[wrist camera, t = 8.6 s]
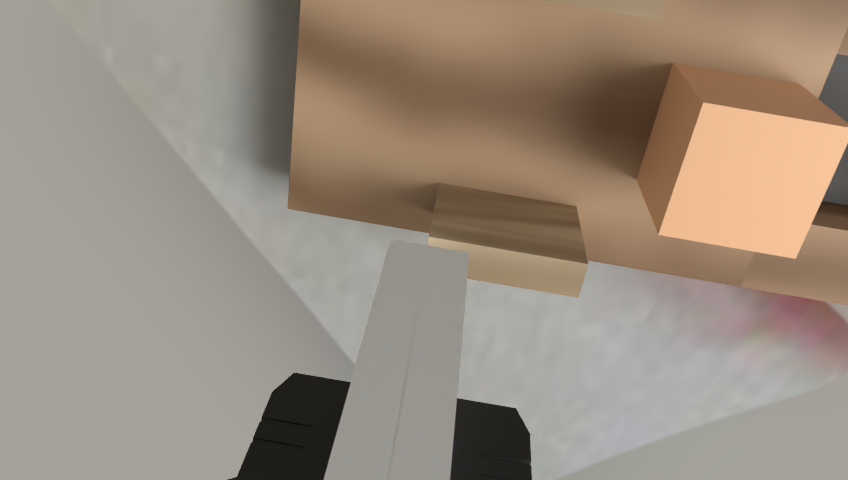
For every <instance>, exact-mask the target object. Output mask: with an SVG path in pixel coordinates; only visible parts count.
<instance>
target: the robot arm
mask: <svg viewBox="0 0 848 480" xmlns="http://www.w3.org/2000/svg"><path fill="white" fill-rule="evenodd" d="M468 261H469V252H463V251H457V250H451V249H445V248H439V247H433V246H427V245H421V244H415V243H409V242H403V241H397V240H391V241H390V244H389V248H388V252H387V255H386V259H385V262H384V266H383V269H382V273H381V276H380V280H379V284H378V287H377V291H376V294H375V298H374V301H373V305H372V309H371V312H370V316H369V319H368V323H367V326H366V330H365V334H364V337H363V341H362V344H361V348H360V351H359V355H358V359H357V362H356V366H355V369H354V373H353V376H352V380H351V382H346V381H340V380H333V379H328V378H322V377H316V376H310V375H304V374H299V373H293V374H292V375H291V376H290V377H289V378H288V379H287V380H285V381H284V382H283V383H282V384H281V385H280V386H279V387H277V388H276V389H275V390H274V391H273V392H272V394H271V396H270V399H269V401H268V404H267V406H266V408H265V411H264V413H263V416H262V420H261V422H260V423H259V425H258V428H257V430H256V432H255V435H254V437H253V442H252V443H251V444H250V447H249V449H248V452H247V454H246V456H245V459H244V461H243V464H242V466H241V469H240V471H239V473H238V476H237V477H236V478H232V479H228V480H532V474H531V466H530V463H531V450H530V433H529V431H528V430H527V428H526V426H525V424H524V422H523V421H522V419H521V417H520V415H519V413H518V412H517V410H516V408H511V407H505V406H499V405H493V404H487V403H481V402H475V401H470V400H464V399H458V398H457V391H458V380H459V368H460V356H461V344H462V332H463V321H464V309H465V297H466V285H467V273H468Z"/></svg>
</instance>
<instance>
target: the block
mask: <svg viewBox="0 0 848 480" xmlns="http://www.w3.org/2000/svg"><path fill="white" fill-rule="evenodd" d="M847 144H848V123H847V122H846V121H845V120H843V119H842V118H841V117H840V116H838V115H837V114H836V113H835V112H834V111H832V110H831V109H830V108H829V107H827V106H826V105H825V104H824V103H823V102H821V101H820V100H819V99H818V98H816V97H815V96H814V95H813V94H812V93H810V92H809V91H808V90H807V89H806V88H804V87H803V86H802V85H799V84H793V83H787V82H782V81H776V80H770V79H764V78H759V77H753V76H747V75H741V74H735V73H730V72H724V71H718V70H712V69H706V68H701V67H695V66H689V65H683V64H677V63H673V64H672V68H671V71H670V74H669V77H668V80H667V84H666V87H665V90H664V93H663V96H662V100H661V103H660V106H659V109H658V112H657V116H656V119H655V122H654V125H653V129H652V132H651V135H650V138H649V141H648V145H647V148H646V151H645V154H644V157H643V161H642V164H641V167H640V170H639V173H638V177H637V182H638V185H639V187H640V190H641V192H642V195H643V197H644V200H645V202H646V205H647V208H648V210H649V213H650V215H651V218H652V220H653V223H654V225H655V228H656V230H657V233H658V235H662V236H668V237H674V238H679V239H685V240H691V241H696V242H702V243H708V244H713V245H719V246H725V247H731V248H736V249H742V250H748V251H753V252H759V253H765V254H770V255H776V256H782V257H788V258H793V259H796V257H797V255H798V253H799V251H800V248H801V246H802V244H803V242H804V239H805V237H806V235H807V233H808V231H809V228H810V226H811V224H812V222H813V219H814V217H815V215H816V213H817V211H818V208H819V206H820V204H821V202H822V199H823V197H824V195H825V193H826V191H827V188H828V186H829V184H830V182H831V179H832V177H833V175H834V173H835V171H836V168H837V166H838V164H839V162H840V159H841V157H842V155H843V153H844V151H845V148H846V146H847Z"/></svg>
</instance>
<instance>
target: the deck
mask: <svg viewBox="0 0 848 480" xmlns="http://www.w3.org/2000/svg"><path fill="white" fill-rule="evenodd" d="M673 63H677V64H683V65H689V66H695V67H701V68H706V69H712V70H718V71H724V72H730V73H735V74H741V75H747V76H753V77H759V78H764V79H770V80H776V81H782V82H787V83H793V84H799V85H802V86H803V87H804V88H806V89H807V90H808V91H809V92H810V93H812V94H813V95H814V96H815V97H816V98H818V99H819V100H820V101H821V102H823V103H824V104H825V105H826V106H827V107H829V108H830V109H831V110H832V111H834V112H835V113H836V114H837V115H838V116H840V117H841V118H842V119H843V120H845V121H846V122H847V123H848V0H301V3H300V19H299V35H298V51H297V67H296V83H295V99H294V115H293V131H292V147H291V163H290V179H289V195H288V209H292V210H298V211H304V212H310V213H316V214H321V215H327V216H333V217H339V218H345V219H351V220H356V221H362V222H368V223H374V224H380V225H385V226H391V227H397V228H403V229H409V230H414V231H420V232H426V233H429V238H428V244H427V246H433V247H439V248H445V249H451V250H457V251H463V252H469V261H468V273H467V278H468V279H474V280H479V281H485V282H491V283H497V284H502V285H508V286H514V287H520V288H526V289H531V290H537V291H543V292H549V293H554V294H560V295H566V296H572V297H579V293H580V290H581V287H582V283H583V280H584V276H585V273H586V269H587V266H588V261H594V262H600V263H606V264H612V265H618V266H623V267H629V268H635V269H641V270H647V271H652V272H658V273H664V274H670V275H676V276H681V277H687V278H693V279H699V280H705V281H710V282H716V283H722V284H728V285H734V286H739V287H745V288H751V289H757V290H763V291H768V292H774V293H780V294H786V295H792V296H797V297H803V298H809V299H815V300H821V301H826V302H832V303H838V304H844V305H848V144H847V146H846V148H845V151H844V153H843V155H842V157H841V159H840V162H839V164H838V166H837V168H836V171H835V173H834V175H833V177H832V179H831V182H830V184H829V186H828V188H827V191H826V193H825V195H824V197H823V199H822V202H821V204H820V206H819V208H818V211H817V213H816V215H815V217H814V219H813V222H812V224H811V226H810V228H809V231H808V233H807V235H806V237H805V239H804V242H803V244H802V246H801V248H800V251H799V253H798V255H797V257H796V259H793V258H788V257H782V256H776V255H770V254H765V253H759V252H753V251H748V250H742V249H736V248H731V247H725V246H719V245H713V244H708V243H702V242H696V241H691V240H685V239H679V238H674V237H668V236H662V235H658V233H657V230H656V228H655V225H654V223H653V220H652V218H651V215H650V213H649V210H648V208H647V205H646V202H645V200H644V197H643V195H642V192H641V190H640V187H639V185H638V182H637V177H638V173H639V170H640V167H641V164H642V161H643V157H644V154H645V151H646V148H647V145H648V141H649V138H650V135H651V132H652V129H653V125H654V122H655V119H656V116H657V112H658V109H659V106H660V103H661V100H662V96H663V93H664V90H665V87H666V84H667V80H668V77H669V74H670V71H671V68H672V64H673ZM587 260H588V261H587Z"/></svg>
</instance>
